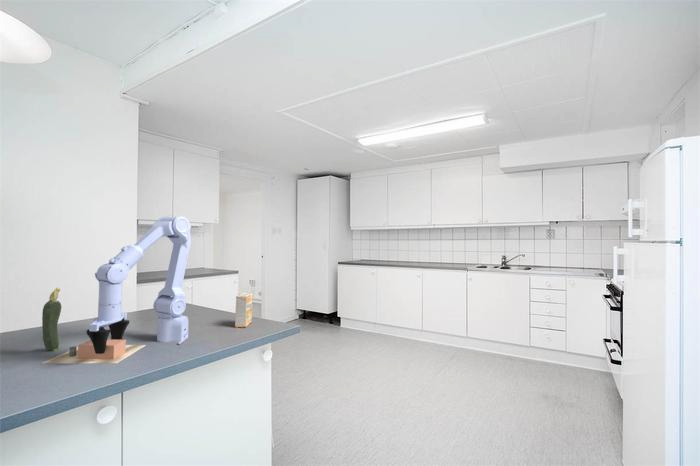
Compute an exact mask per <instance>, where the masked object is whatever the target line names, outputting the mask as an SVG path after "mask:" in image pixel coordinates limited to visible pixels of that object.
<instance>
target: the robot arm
mask: <svg viewBox="0 0 700 466" xmlns="http://www.w3.org/2000/svg"><path fill="white" fill-rule="evenodd" d="M191 227H192V224H191V223H190V221H189V220H188V218H187V217H185V216H183V215H181V216H165V215H164V216H162V217H160V218H159V219H158V220H156V221H154V222H153V225H152V226H151V227H150V229H148V230H147V231H146V233H144V234H143V236H142V237H141V238H140V239H139V240H137V242H136V243H135V244H134V245H126V246H123V247H121V248H120V251H119V252H118V254H116V255H115V256H114V257H113V258H110V259H109V260H108V263H104V264H102V265H100V266H98V268H97V270H96V272H95V273H94V278H95V279H96V280H97V281H98V304H97V307H98V308H97V317H96V318H94V319H93V322H92V323H90V324H89V329H87V330H86V334H87V336H88V337H89V340H91V341H92V343H93V346H94V350H95V353H96V354H103V353H104V352H105V349H106V342H107V339H108V337H109V335H110V340H123V337H124V333H125V332H126V329H127V327H128V326H129V324H130V320H129V319H128V313H127V312H122V306H123V305H122V302H123V301H122V300H123V282H124V281H125V280H127V278H128V275H129V271H130V270H132V269H133V267H135V266H136V265H137V264H138V263H139V262H140V261H141V260H142V259H143V258H144V252H145V251H146V250H147V249H149V248H150V247H151V246H152V245H154V244H155V243H157V241H158V240H160V239H161V238H163V237H166V238H168V239H169V240H170V241H171V243H172V244H173V245H172V251H171V254H170V259H169V264H168V269H167V272H166V273H167V274H166V278H165V283H164V287H163V288H162V289H161V290H159V291H158V292H157V293H158V295H157V297H156V298H155V300H154V302H153V306H152V307H153V310H154V311H155V312H156V316H157V323H156V325H157V330H156V331H157V332H156V341H157V342H159V343H169V342H170V343H171V342H177V343H176V345H180V344H182V343H184V342H185V341H186V340H187V339H188V338H189V317H188V316H187V315H183V313H185V311H186V308H187V303H186V296H187V295H186V293H185V292H184V290H183V289H182V287H183V284H184V283H183V282H184V279H185V278H184V277H185V273H186V268H187V265H188V264H187V262H188V257H189V253H190V249H191V245H192V238H191V237H192V236H191V229H192V228H191ZM127 319H128V320H127ZM105 327H109V329H106V328H105Z"/></svg>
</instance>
